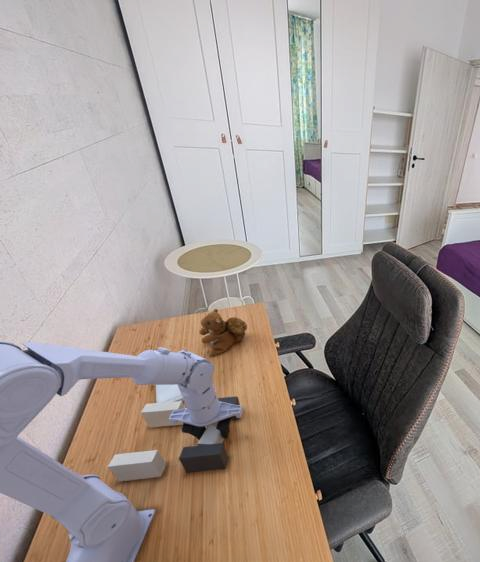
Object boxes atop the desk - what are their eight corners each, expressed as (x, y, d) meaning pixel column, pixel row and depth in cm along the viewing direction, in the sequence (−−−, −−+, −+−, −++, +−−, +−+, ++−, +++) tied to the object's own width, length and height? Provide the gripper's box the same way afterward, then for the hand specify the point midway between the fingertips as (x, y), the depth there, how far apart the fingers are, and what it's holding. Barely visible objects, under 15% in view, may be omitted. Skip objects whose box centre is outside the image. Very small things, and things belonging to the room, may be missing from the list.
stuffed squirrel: (203, 339, 97) (193, 308, 90) (247, 328, 103) (241, 298, 97) (204, 358, 90) (193, 326, 83) (251, 345, 96) (245, 314, 89)
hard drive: (154, 375, 81) (156, 408, 72) (187, 364, 85) (192, 393, 77) (156, 379, 82) (158, 412, 73) (189, 368, 86) (194, 397, 77)
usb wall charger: (200, 453, 65) (196, 443, 63) (215, 425, 71) (212, 415, 69) (217, 454, 65) (213, 444, 63) (231, 426, 71) (228, 416, 69)
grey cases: (225, 468, 63) (219, 454, 60) (186, 473, 61) (178, 458, 58) (241, 410, 75) (237, 396, 72) (209, 413, 74) (203, 398, 71)
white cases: (161, 476, 61) (151, 461, 58) (119, 481, 59) (107, 466, 56) (188, 415, 73) (182, 400, 70) (154, 418, 72) (146, 403, 69)
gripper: (241, 381, 65) (251, 417, 72) (173, 386, 63) (189, 423, 70) (233, 408, 59) (244, 444, 66) (157, 415, 57) (176, 452, 64)
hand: (215, 435), depth 68 cm, fingers open, 4 cm apart
